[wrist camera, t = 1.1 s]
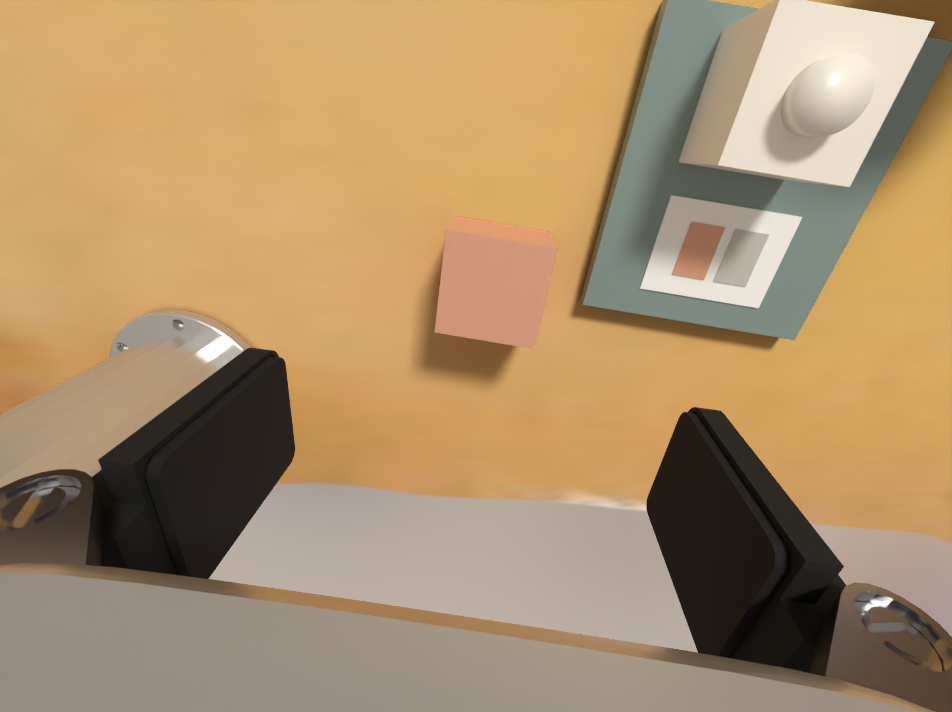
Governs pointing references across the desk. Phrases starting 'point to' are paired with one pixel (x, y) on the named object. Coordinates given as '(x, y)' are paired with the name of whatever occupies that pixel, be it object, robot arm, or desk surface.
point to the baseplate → (664, 177)
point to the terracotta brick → (494, 281)
